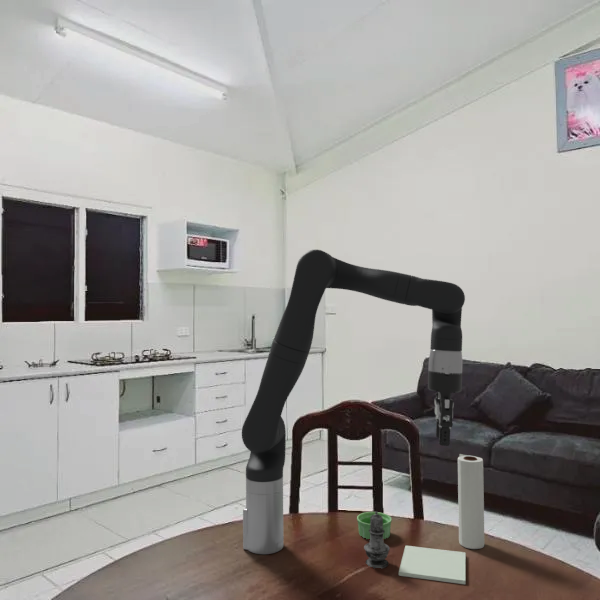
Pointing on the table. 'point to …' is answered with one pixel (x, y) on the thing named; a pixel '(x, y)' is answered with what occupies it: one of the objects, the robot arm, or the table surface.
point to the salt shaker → (376, 544)
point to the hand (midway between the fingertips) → (442, 441)
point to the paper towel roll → (471, 501)
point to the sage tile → (433, 564)
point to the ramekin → (365, 524)
